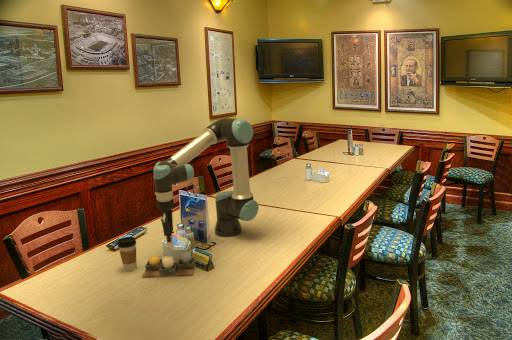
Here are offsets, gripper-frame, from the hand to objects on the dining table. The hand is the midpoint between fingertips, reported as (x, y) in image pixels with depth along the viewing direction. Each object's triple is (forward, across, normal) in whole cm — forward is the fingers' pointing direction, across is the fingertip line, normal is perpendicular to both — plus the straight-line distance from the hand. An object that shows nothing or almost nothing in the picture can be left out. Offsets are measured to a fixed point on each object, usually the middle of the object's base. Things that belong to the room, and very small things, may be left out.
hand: (170, 247), depth 206 cm
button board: (+10, +2, -1) cm, 11 cm away
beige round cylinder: (+7, +5, -1) cm, 9 cm away
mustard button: (+9, 0, -8) cm, 12 cm away
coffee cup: (+11, -1, -21) cm, 23 cm away
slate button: (+7, 0, +7) cm, 10 cm away
